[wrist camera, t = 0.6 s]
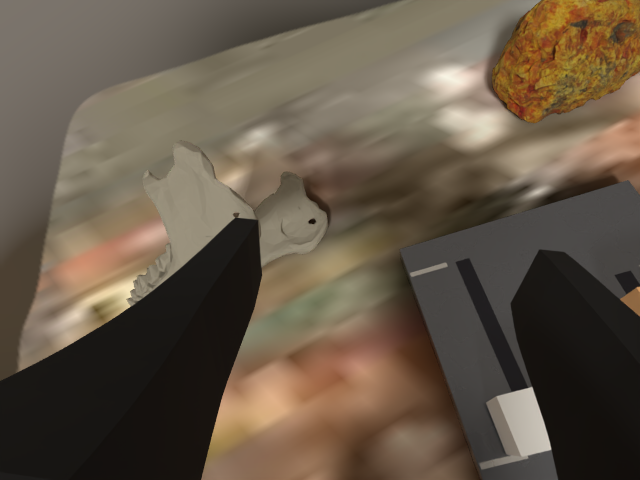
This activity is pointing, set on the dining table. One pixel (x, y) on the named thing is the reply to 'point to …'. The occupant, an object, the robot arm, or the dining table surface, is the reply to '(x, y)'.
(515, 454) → the block
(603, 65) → the rock
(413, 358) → the dining table surface
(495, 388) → the panel
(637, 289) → the fader orange
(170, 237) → the jawbone
